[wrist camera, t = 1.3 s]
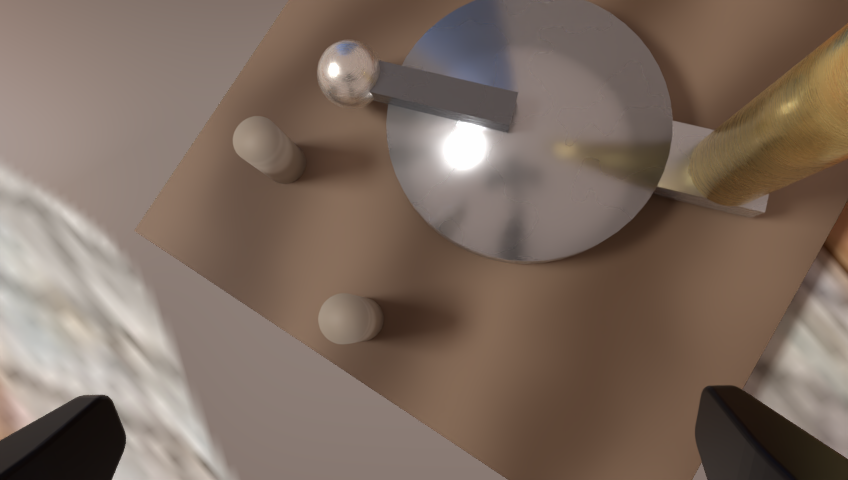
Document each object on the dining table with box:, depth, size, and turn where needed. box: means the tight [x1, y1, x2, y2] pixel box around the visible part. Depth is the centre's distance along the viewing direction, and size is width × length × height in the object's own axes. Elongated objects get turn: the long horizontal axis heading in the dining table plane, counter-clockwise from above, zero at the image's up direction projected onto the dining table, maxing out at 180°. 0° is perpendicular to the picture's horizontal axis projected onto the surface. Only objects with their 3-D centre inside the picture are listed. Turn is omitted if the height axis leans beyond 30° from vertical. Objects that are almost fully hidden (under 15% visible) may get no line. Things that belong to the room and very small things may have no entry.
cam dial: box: [317, 0, 848, 264], centre depth 15 cm, size 16×10×12 cm, turn 74°
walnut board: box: [135, 0, 848, 480], centre depth 20 cm, size 22×22×4 cm
